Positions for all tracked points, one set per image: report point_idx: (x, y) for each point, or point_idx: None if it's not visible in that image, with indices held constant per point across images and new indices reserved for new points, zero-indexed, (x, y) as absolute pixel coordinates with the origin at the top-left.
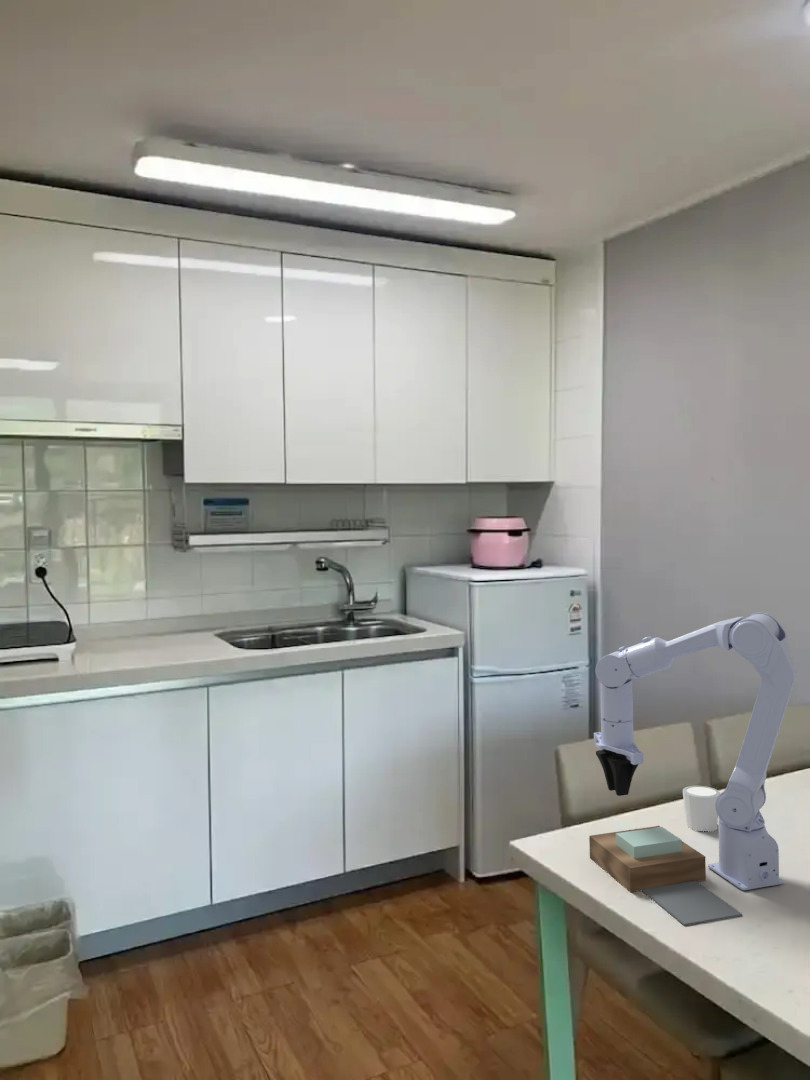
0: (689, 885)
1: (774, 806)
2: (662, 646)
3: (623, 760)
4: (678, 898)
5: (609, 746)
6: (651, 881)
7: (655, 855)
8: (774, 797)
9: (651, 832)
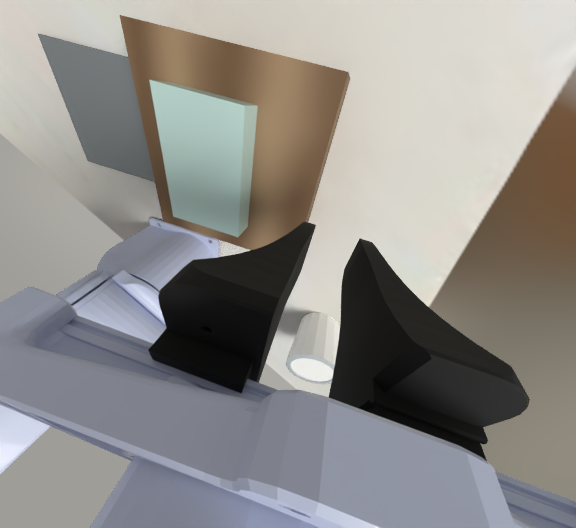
0: None
1: (311, 385)
2: None
3: (166, 324)
4: (128, 110)
5: (166, 465)
6: None
7: None
8: None
9: (220, 197)
